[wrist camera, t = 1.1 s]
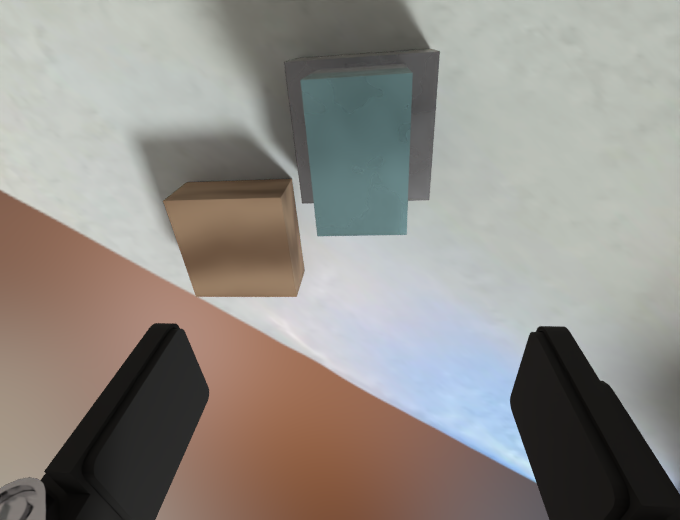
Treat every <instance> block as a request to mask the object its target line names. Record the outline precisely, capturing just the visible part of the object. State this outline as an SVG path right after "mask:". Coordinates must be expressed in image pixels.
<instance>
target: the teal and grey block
mask: <svg viewBox="0 0 680 520" xmlns="http://www.w3.org/2000/svg"><path fill="white" fill-rule="evenodd" d="M412 77H413V73H412V72H411V71H410V70H409V69H408V68H407V67H406V66H405V64H390V65H375V66H360V67H345V68H329V69H318V70H316V71H315V72H313V73H311V74H310V75H308V76H306V77H305V78H303V79H301V90H302V99H303V108H304V117H305V126H306V135H307V145H308V154H309V163H310V172H311V181H312V190H313V200H314V209H315V218H316V227H317V236H359V235H407V209H408V182H409V156H410V130H411V104H412Z"/></svg>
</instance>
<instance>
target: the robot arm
mask: <svg viewBox="0 0 680 520" xmlns="http://www.w3.org/2000/svg"><path fill="white" fill-rule="evenodd" d="M208 397H209V388H208V385H207V383H206V381H205V378H204V376H203V374H202V371H201V369H200V366H199V364H198V362H197V360H196V357H195V355H194V352H193V350H192V348H191V345H190V343H189V341H188V338H187V336H186V334H185V331H184V330H183V329H180V328H179V326H178V325H177V324H165V323H162V324H161V323H158V324H157V323H156V324H153V325H152V326H151V327H150V328H149V330H148V331H147V332H146V334H145V335H144V336H143V338H142V339H141V340H140V342H139V343H138V344H137V346H136V347H135V348H134V350H133V351H132V353H131V354H130V355H129V357H128V358H127V359H126V361H125V362H124V363H123V365H122V366H121V368H120V369H119V370H118V372H117V373H116V375H115V376H114V377H113V379H112V380H111V381H110V383H109V384H108V385H107V387H106V388H105V389H104V391H103V392H102V393H101V395H100V396H99V398H98V399H97V400H96V402H95V403H94V404H93V406H92V407H91V408H90V410H89V411H88V413H87V414H86V415H85V417H84V418H83V419H82V421H81V422H80V423H79V425H78V426H77V428H76V429H75V430H74V432H73V433H72V435H71V436H70V437H69V438H68V440H67V441H66V443H65V444H64V446H63V447H62V448H61V449H60V451H59V452H58V454H57V455H56V456H55V458H54V459H53V460H52V462H51V463H50V464H49V466H48V467H47V469H46V470H45V471H44V472H45V473H46V474H45V475H44V476H43V478H42V479H41V480H39V479H37V478H31V477H28V478H23V479H18V480H16V481H13V482H11V483H8V484H6V485H4V486H3V487H1V488H0V520H155V519H156V517H157V515H158V512H159V510H160V508H161V505H162V503H163V501H164V499H165V496H166V494H167V492H168V490H169V487H170V485H171V483H172V480H173V478H174V476H175V474H176V471H177V469H178V467H179V465H180V462H181V460H182V458H183V456H184V453H185V451H186V449H187V446H188V444H189V442H190V440H191V437H192V435H193V433H194V431H195V428H196V426H197V424H198V422H199V419H200V417H201V415H202V413H203V410H204V408H205V405H206V403H207V401H208ZM510 405H511V410H512V413H513V416H514V419H515V422H516V424H517V427H518V430H519V433H520V436H521V439H522V442H523V445H524V448H525V450H526V453H527V456H528V459H529V462H530V465H531V468H532V471H533V474H534V476H535V479H536V482H537V485H538V488H539V491H540V494H541V496H542V500H543V502H544V505H545V508H546V511H547V514H548V517H549V520H680V494H679V493H678V491H677V489H676V488H675V486H674V485H673V483H672V482H671V480H670V479H669V477H668V475H667V474H666V472H665V471H664V469H663V468H662V466H661V464H660V463H659V461H658V460H657V458H656V457H655V455H654V453H653V452H652V450H651V449H650V447H649V446H648V444H647V443H646V441H645V439H644V438H643V436H642V435H641V433H640V432H639V430H638V428H637V427H636V425H635V424H634V422H633V421H632V419H631V417H630V416H629V414H628V413H627V411H626V410H625V408H624V407H623V405H622V403H621V402H620V400H619V399H618V397H617V396H616V394H615V392H614V391H613V390H612V388H611V387H610V386H609V385H608V384H607V383H605V382H604V381H600V380H599V378H598V377H597V375H596V373H595V372H594V370H593V369H592V367H591V365H590V364H589V362H588V360H587V359H586V357H585V356H584V354H583V352H582V351H581V349H580V348H579V346H578V344H577V343H576V341H575V339H574V338H573V336H572V335H571V333H570V331H569V330H568V329H567V328H566V327H552V326H540V327H538V328H537V331H536V332H531V333H530V335H529V338H528V341H527V344H526V348H525V351H524V354H523V357H522V361H521V364H520V367H519V370H518V374H517V377H516V380H515V383H514V387H513V390H512V393H511V397H510Z"/></svg>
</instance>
